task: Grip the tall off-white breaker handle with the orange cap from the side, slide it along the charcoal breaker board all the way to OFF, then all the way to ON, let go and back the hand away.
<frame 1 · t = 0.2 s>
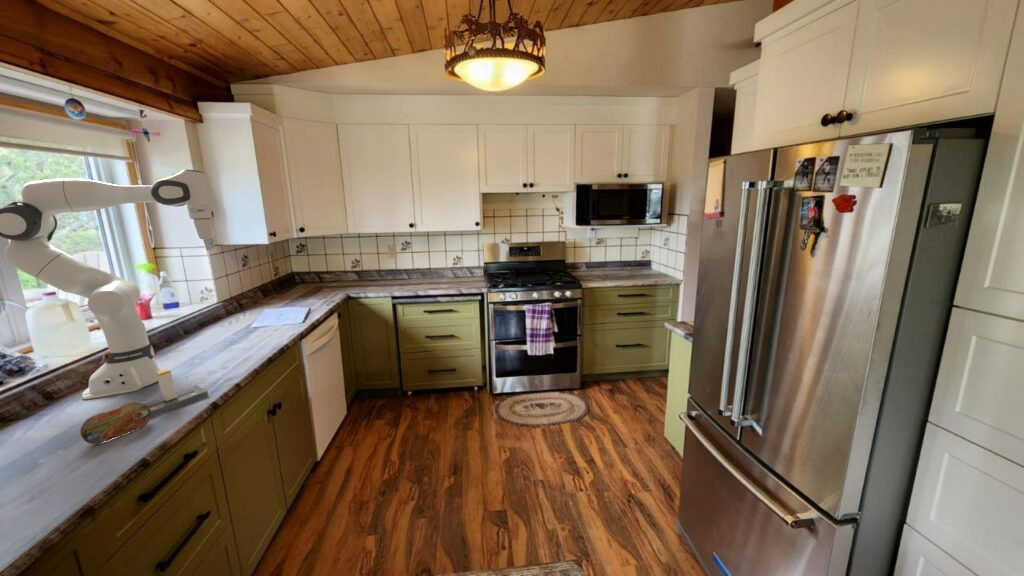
hand: (210, 249, 160), 48 cm above the counter, tool pointing down, fingers open, 8 cm apart
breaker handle: (166, 384, 135), point 7 cm above the counter, slide at 0.0 cm
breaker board: (172, 404, 137), on the counter
tin: (120, 435, 120), on the counter
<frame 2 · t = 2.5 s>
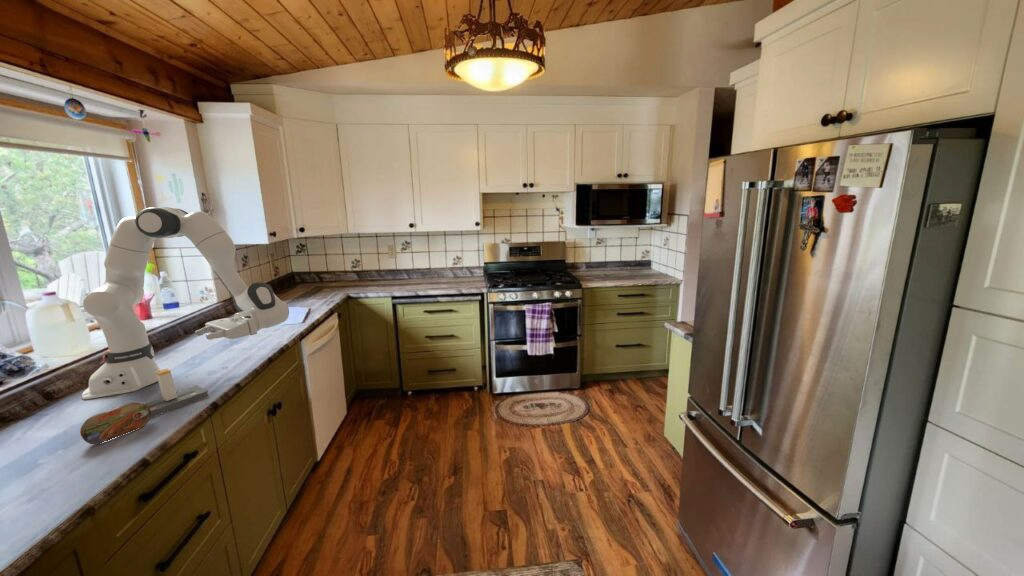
hand: (201, 335, 142), 20 cm above the counter, tool horizontal, fingers open, 8 cm apart
nothing on the counter moved.
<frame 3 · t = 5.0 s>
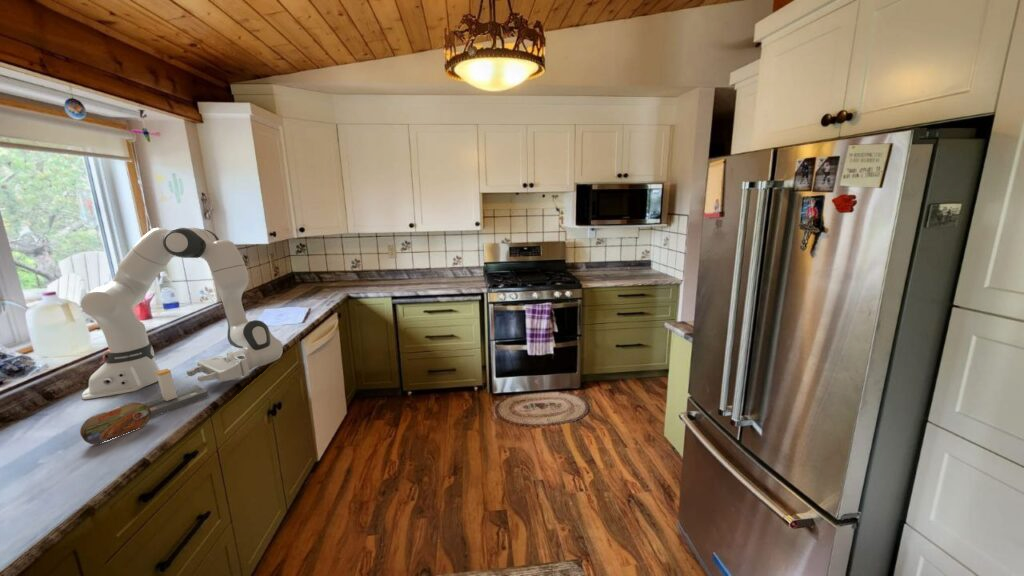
hand: (193, 376, 141), 7 cm above the counter, tool horizontal, fingers open, 8 cm apart
nothing on the counter moved.
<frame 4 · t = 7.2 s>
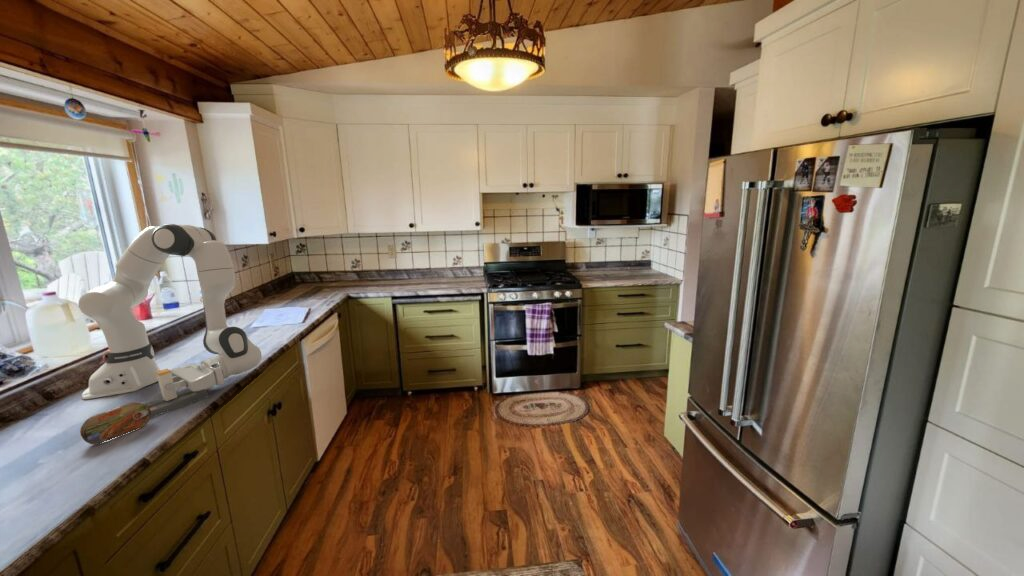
hand: (163, 386, 134), 7 cm above the counter, tool horizontal, fingers closed on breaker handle, 3 cm apart
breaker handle: (166, 384, 135), point 7 cm above the counter, slide at 0.0 cm, touching gripper
everything else where it was.
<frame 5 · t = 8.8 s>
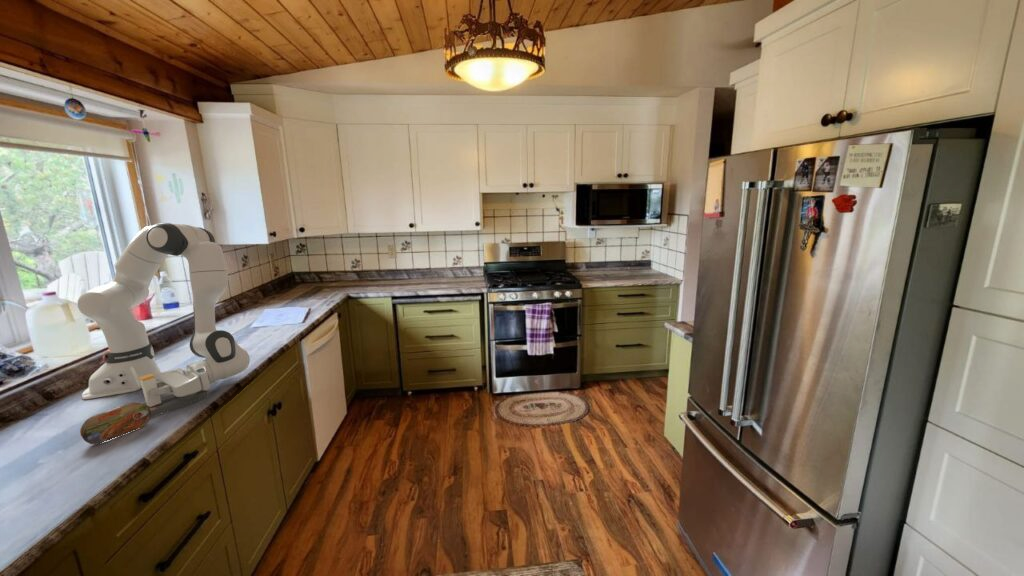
hand: (147, 392, 131), 7 cm above the counter, tool horizontal, fingers closed on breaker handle, 3 cm apart
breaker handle: (150, 390, 131), point 7 cm above the counter, slide at -4.3 cm, touching gripper
everything else where it was.
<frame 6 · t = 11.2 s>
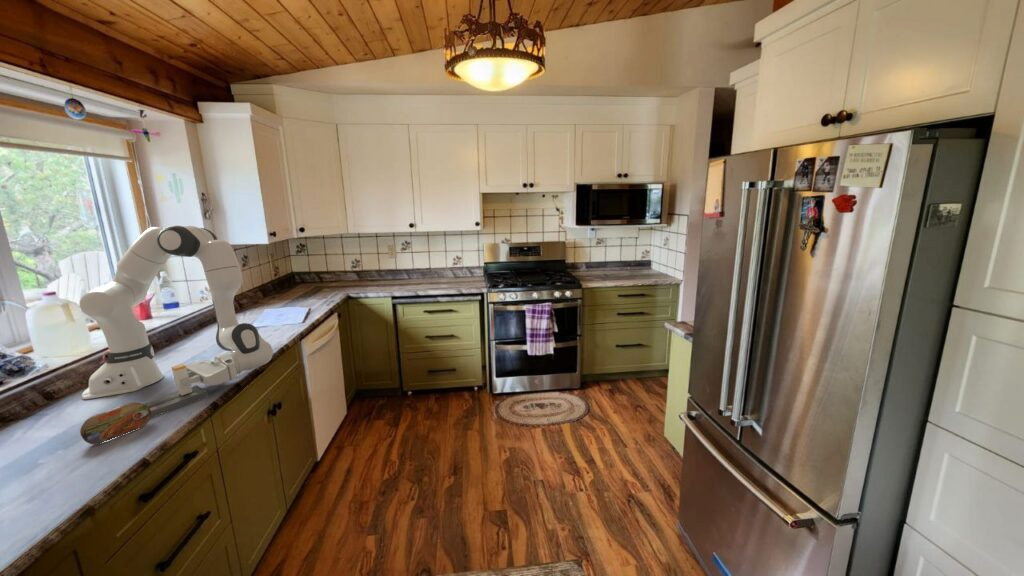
hand: (179, 381, 138), 7 cm above the counter, tool horizontal, fingers closed on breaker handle, 3 cm apart
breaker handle: (182, 379, 138), point 7 cm above the counter, slide at 4.2 cm, touching gripper
everything else where it was.
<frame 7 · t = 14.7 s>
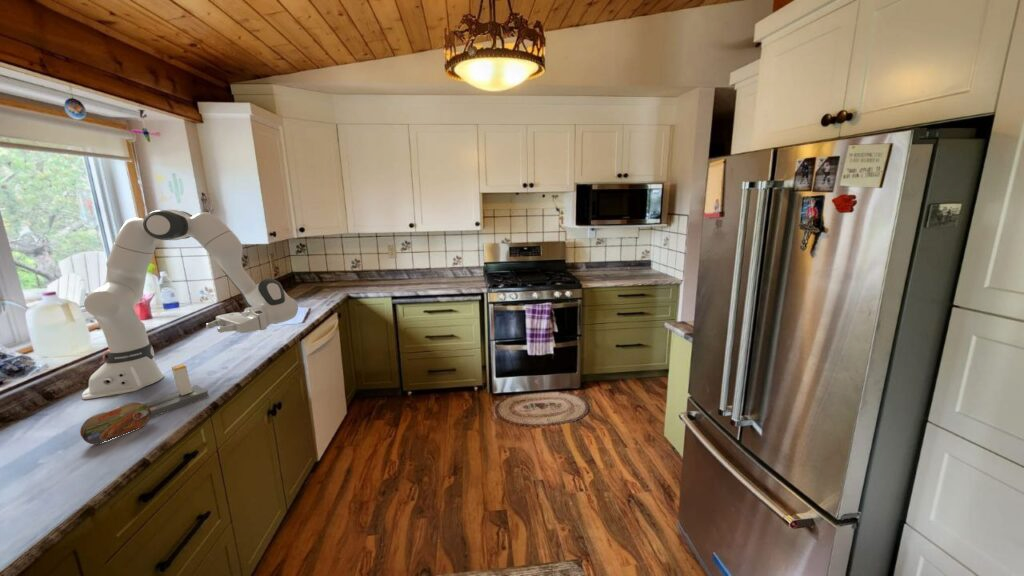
hand: (212, 328, 145), 22 cm above the counter, tool horizontal, fingers open, 8 cm apart
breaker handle: (182, 379, 138), point 7 cm above the counter, slide at 4.2 cm
everything else where it was.
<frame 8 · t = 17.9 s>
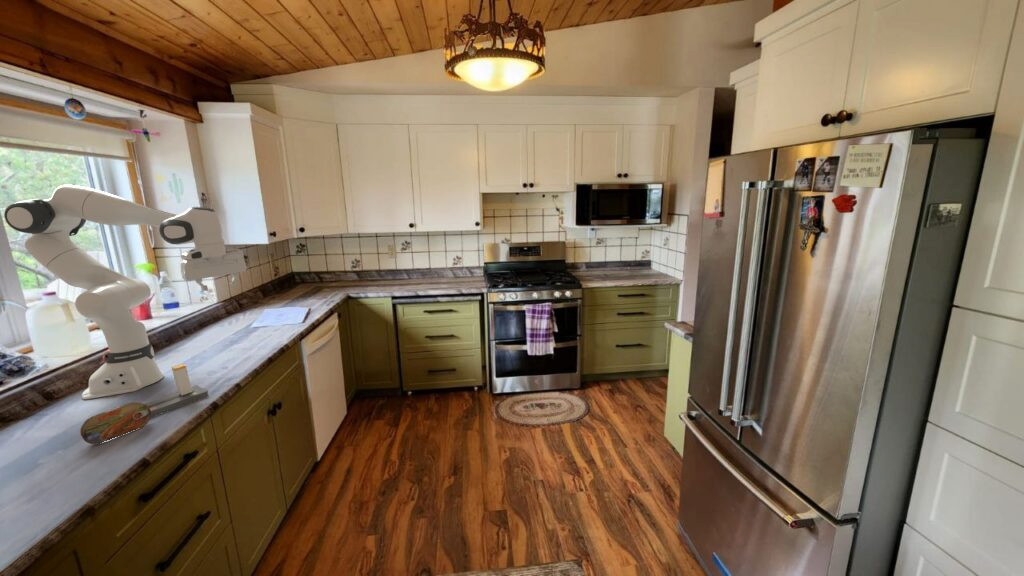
hand: (219, 287, 154), 34 cm above the counter, tool pointing down, fingers open, 8 cm apart
nothing on the counter moved.
at the end: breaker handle slide at 4.2 cm; the gripper is holding nothing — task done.
